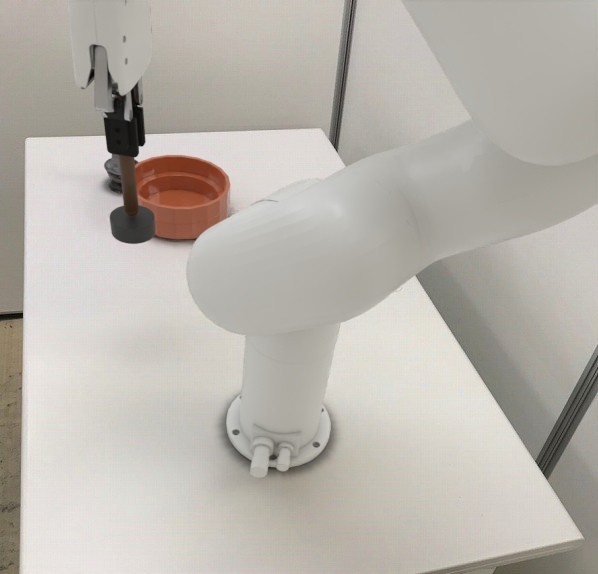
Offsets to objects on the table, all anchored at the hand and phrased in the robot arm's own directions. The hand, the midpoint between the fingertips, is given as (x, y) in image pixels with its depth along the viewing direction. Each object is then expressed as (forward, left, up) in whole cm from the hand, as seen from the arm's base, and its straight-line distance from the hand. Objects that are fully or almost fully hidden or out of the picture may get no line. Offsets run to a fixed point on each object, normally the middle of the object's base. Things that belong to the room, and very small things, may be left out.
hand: (126, 147), depth 67 cm
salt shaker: (+35, +13, -26) cm, 46 cm away
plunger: (0, 0, -10) cm, 10 cm away
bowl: (+29, +2, -26) cm, 39 cm away
